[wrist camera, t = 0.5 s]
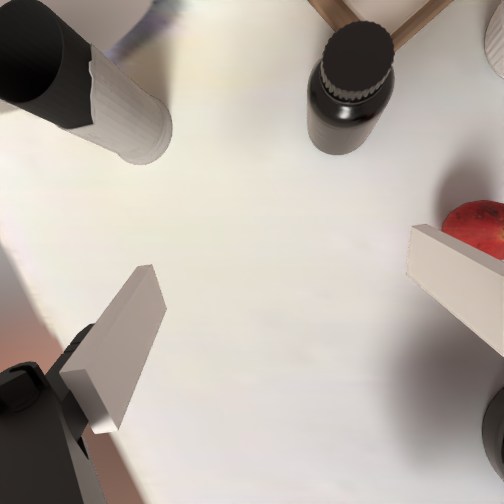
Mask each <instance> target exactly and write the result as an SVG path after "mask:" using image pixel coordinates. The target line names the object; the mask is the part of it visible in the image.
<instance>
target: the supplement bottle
mask: <svg viewBox="0 0 504 504" xmlns="http://www.w3.org/2000/svg"><path fill="white" fill-rule="evenodd" d="M394 55H395V52H394V44H393V39H392V38H391V37H390V33H389V32H387V31H386V29H385V28H383V27H382V26H381V25H380V24H376V23H375V22H369V21H367V20H366V21H360V20H359V21H357V22H351V23H350V24H346V25H345V26H344V27H343V28H340V29H339V30H338V31H337V32H336V33H334V34H333V36H332V38H330V39H329V41H328V44H327V45H326V46H325V50H324V52H323V54H322V57H321V58H320V59H319V60H318V62H317V63H316V64H315V66H314V68H313V70H312V72H311V74H310V77H309V81H308V88H307V125H308V133H309V137H310V139H311V141H312V143H313V144H314V145H315V146H316V147H317V148H318V149H319V150H320V151H322V152H324V153H327V154H330V155H344V154H347V153H350V152H352V151H354V150H356V149H357V148H358V147H360V146H361V145H362V144H363V143H364V141H365V140H366V139H367V137H368V136H369V134H370V133H371V131H372V129H373V128H374V126H375V124H376V123H377V121H378V119H379V118H380V116H381V114H382V113H383V111H384V109H385V108H386V106H387V104H388V102H389V100H390V98H391V95H392V92H393V88H394V79H395V77H394V70H393V66H392V64H393V61H394V60H393V57H394Z"/></svg>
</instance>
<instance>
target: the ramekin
mask: <svg viewBox="0 0 504 504" xmlns="http://www.w3.org/2000/svg"><path fill="white" fill-rule="evenodd" d="M485 52H486V55H487V59H488V61H489V64H490V65H491V67H492V68H493V70H494V71H495V72H496V73H497V74H498V75H499V76H500V77H501V78H503V79H504V0H502V1H501V2H500V4H499V6H498V8H497V9H496V11H495V13H494V15H493V16H492V19H491V20H490V22H489V25H488V28H487V31H486V37H485Z"/></svg>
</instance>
